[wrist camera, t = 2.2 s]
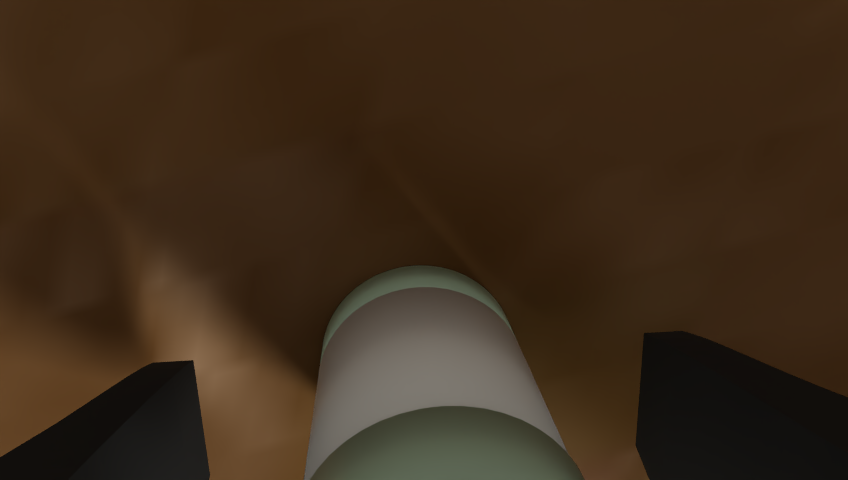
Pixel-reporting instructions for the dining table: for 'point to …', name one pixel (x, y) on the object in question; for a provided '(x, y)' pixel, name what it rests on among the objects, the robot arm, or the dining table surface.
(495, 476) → the green bulb-shaped piece
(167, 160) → the dining table surface
